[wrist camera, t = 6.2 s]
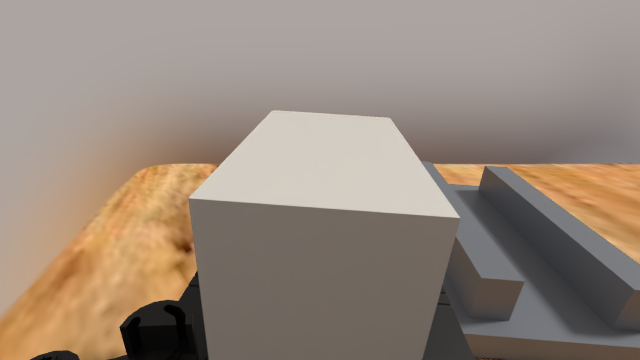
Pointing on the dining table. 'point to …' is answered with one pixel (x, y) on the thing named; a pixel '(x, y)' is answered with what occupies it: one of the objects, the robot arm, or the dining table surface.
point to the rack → (536, 276)
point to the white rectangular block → (321, 243)
